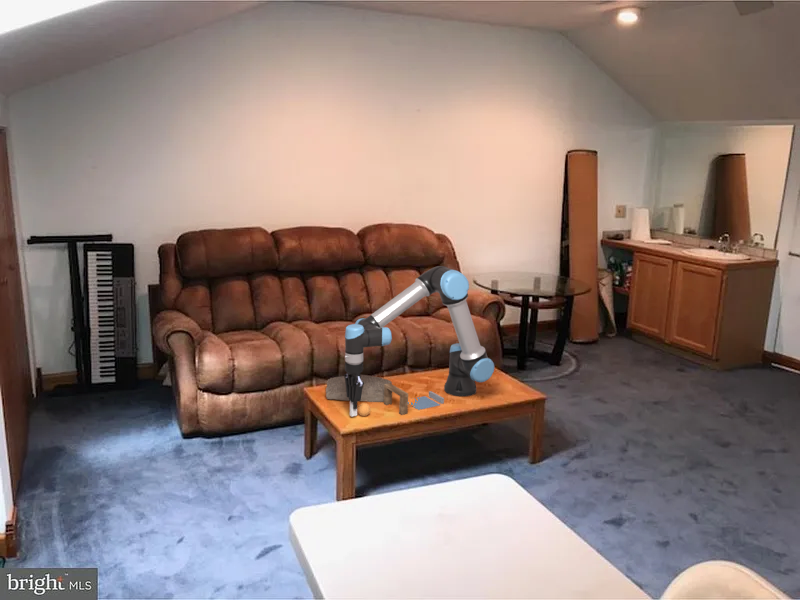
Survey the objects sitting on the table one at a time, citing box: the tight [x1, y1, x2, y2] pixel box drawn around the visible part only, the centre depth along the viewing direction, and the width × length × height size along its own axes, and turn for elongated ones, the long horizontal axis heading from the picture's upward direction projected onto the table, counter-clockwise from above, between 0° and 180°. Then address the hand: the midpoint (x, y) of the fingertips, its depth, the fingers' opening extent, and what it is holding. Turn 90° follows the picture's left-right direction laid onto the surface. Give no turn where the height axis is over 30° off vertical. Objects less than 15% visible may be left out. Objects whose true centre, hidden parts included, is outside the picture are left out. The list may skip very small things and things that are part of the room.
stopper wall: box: [428, 390, 445, 405], centre depth 309 cm, size 1×10×2 cm, turn 33°
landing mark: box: [408, 395, 441, 411], centre depth 305 cm, size 12×12×1 cm
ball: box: [357, 402, 371, 417], centre depth 288 cm, size 6×6×6 cm
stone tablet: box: [325, 374, 393, 403], centre depth 312 cm, size 20×8×30 cm
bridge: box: [383, 383, 409, 416], centre depth 296 cm, size 3×14×9 cm, turn 33°
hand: (353, 415), depth 285 cm, fingers closed
